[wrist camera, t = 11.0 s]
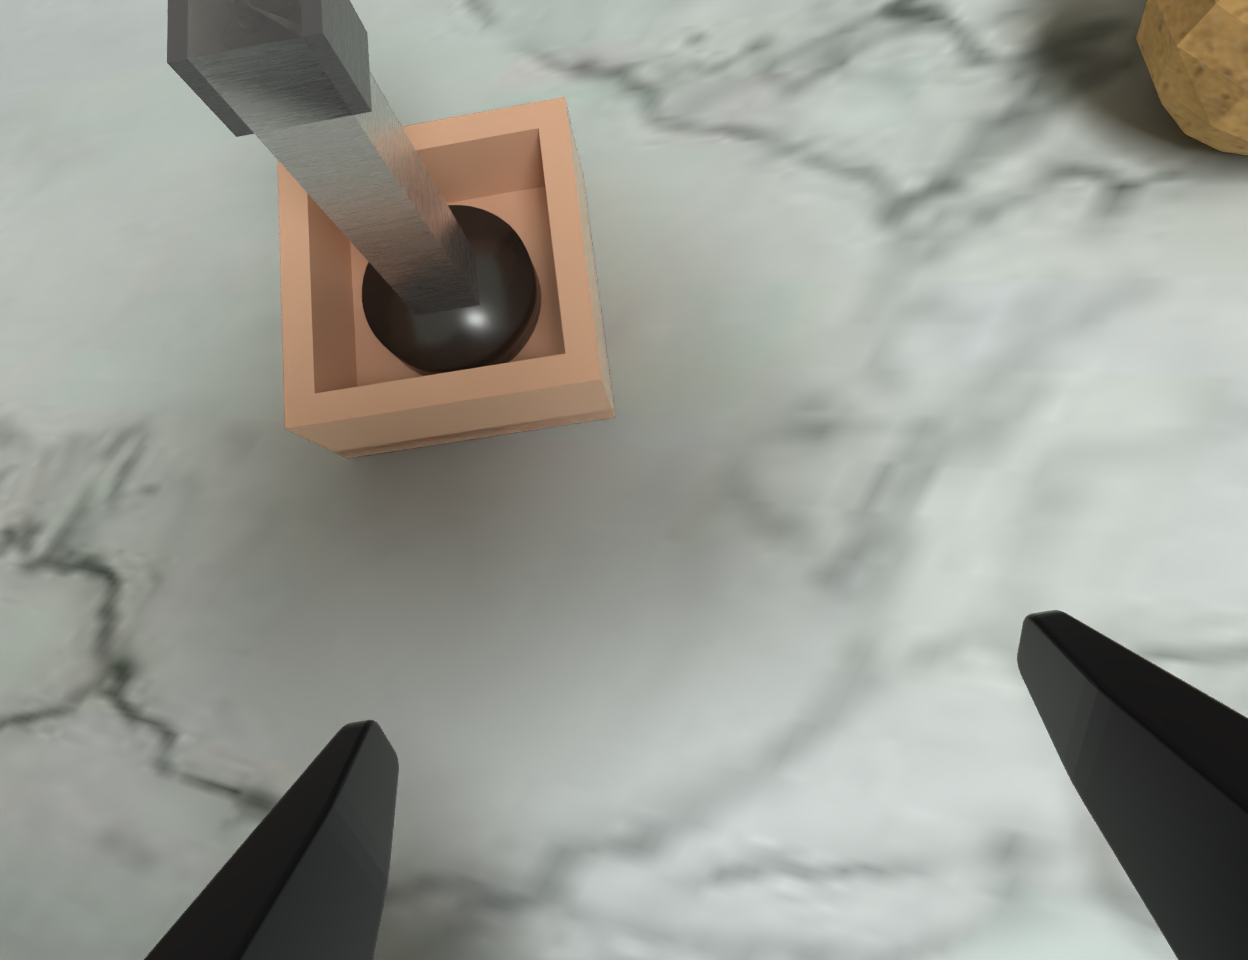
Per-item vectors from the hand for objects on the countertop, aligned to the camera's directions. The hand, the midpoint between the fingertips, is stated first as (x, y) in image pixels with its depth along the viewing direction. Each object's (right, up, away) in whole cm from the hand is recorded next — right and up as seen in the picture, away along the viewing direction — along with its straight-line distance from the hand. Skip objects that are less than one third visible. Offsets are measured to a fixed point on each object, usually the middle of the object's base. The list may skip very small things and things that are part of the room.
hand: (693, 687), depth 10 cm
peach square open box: (-7, +9, +17) cm, 20 cm away
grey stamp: (-7, +9, +16) cm, 19 cm away
